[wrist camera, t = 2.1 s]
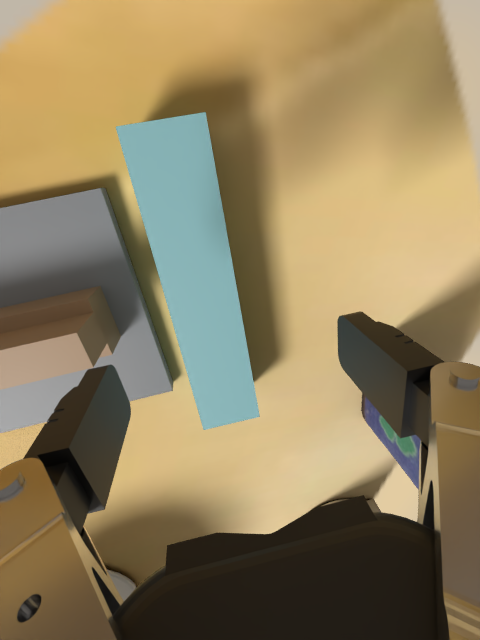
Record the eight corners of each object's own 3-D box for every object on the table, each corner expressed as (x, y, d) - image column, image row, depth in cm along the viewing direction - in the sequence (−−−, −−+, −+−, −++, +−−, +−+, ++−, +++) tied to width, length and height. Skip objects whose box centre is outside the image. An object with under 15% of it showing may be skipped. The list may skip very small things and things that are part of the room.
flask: (383, 419, 28) (486, 541, 18) (354, 423, 28) (443, 549, 18) (403, 332, 24) (545, 427, 14) (370, 335, 24) (493, 434, 14)
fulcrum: (105, 188, 17) (63, 186, 11) (173, 382, 23) (167, 442, 17) (-151, 239, 16) (-328, 264, 11) (-12, 427, 22) (-79, 506, 16)
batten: (202, 129, 17) (205, 111, 13) (249, 383, 24) (259, 416, 21) (132, 141, 16) (115, 126, 13) (202, 394, 24) (203, 429, 20)
